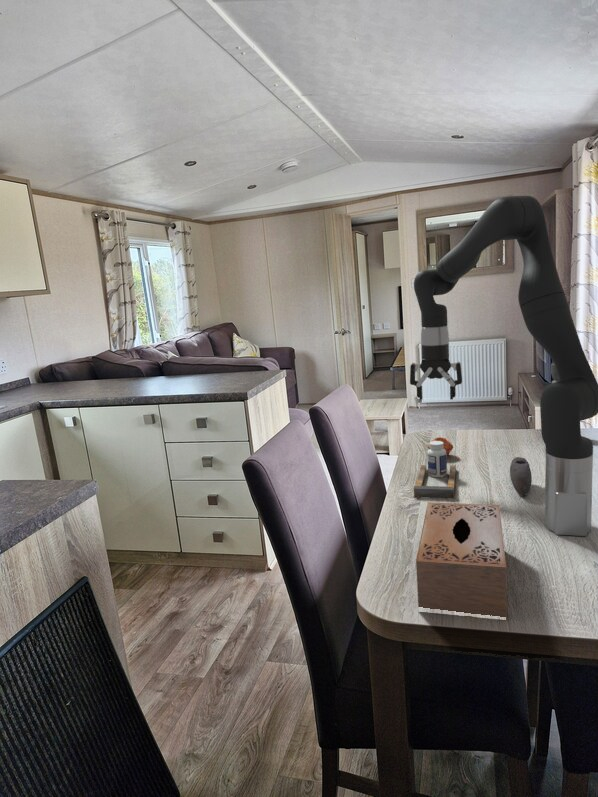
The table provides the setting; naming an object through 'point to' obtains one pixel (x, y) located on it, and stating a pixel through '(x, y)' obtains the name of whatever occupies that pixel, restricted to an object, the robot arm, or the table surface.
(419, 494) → the guide channel
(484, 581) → the tissue box cover
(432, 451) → the pill bottle
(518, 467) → the perforated stone tool
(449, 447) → the pot
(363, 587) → the table surface
